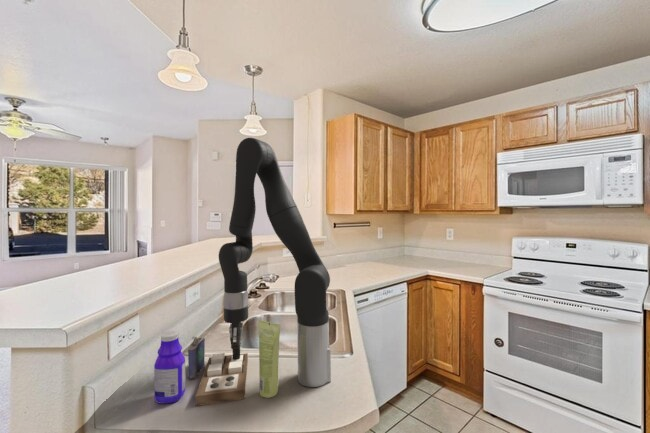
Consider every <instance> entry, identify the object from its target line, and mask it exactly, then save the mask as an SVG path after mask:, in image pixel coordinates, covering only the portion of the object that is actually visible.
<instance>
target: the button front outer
mask: <svg viewBox="0 0 650 433" xmlns="http://www.w3.org/2000/svg"><path fill="white" fill-rule="evenodd" d="M221 374H222V363H219V364H210V365H209V367H208V370H207V377H212V376H220V375H221Z"/></svg>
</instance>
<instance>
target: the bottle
mask: <svg viewBox="0 0 650 433" xmlns="http://www.w3.org/2000/svg"><path fill="white" fill-rule="evenodd" d="M160 338H161V339H160V346H159V348H158V349H157V357H156V360H155V362H154V364H153V367H154V372H153V373H154V375H153V376H154V379H153V380H154V385H153V386H154V388H153V390H154V395H153V396H154V399H155V401H156V403H159V404H172V403H176V402H178V401H180V399H181V398H182V397H183V396H184V393H185V391H186V358H185V355H184V353H183V352H182V349H183V346H182V345H181V343H180V340H179V331H177V330H168V331H165V332H163V333H162V334H161V335H160Z"/></svg>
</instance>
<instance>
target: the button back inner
mask: <svg viewBox="0 0 650 433" xmlns="http://www.w3.org/2000/svg"><path fill="white" fill-rule="evenodd" d="M236 361H242V362H243V355H240V359H236V360H233V356H232V358H231V362H236Z"/></svg>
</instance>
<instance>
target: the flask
mask: <svg viewBox="0 0 650 433" xmlns="http://www.w3.org/2000/svg"><path fill="white" fill-rule="evenodd" d="M191 339H193V341H192V342H191V344H190V345H189V347H188V349H187V352H188V354H187V355H188V356H187V358H188V359H187V365H188V369H187V370H188V371H187V372H188V379H189V380H194V379H195V378H197V377H198V376H199V373H201V370H202V369H203V367H204V366H205V365H206V363H205V354H206V353H205V351H206V350H205V345H206V344H205V342H206V341H205V339H206V338H205V336H199V337H197V336H193V337H192V338H191Z"/></svg>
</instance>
